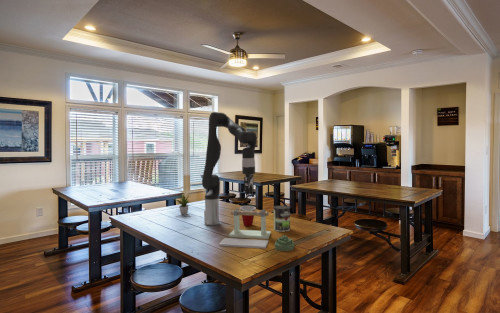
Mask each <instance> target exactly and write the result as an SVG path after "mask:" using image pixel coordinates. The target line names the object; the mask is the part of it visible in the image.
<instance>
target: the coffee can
mask: <svg viewBox="0 0 500 313" xmlns="http://www.w3.org/2000/svg"><path fill="white" fill-rule="evenodd" d="M273 230H274V231H276V232H281V233H283V232H285V231H286V232H289V231H291V206H288V205H283V204H282V205H280V204H279V205H274V206H273ZM286 232H285V233H286Z"/></svg>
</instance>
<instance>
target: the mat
mask: <svg viewBox="0 0 500 313" xmlns="http://www.w3.org/2000/svg"><path fill="white" fill-rule="evenodd" d="M268 244H269V239H253V238H235V237H224V238H223V239H222V240H221V241H220V242H219V243H218V246H219V247H231V248H233V247H234V248H247V249H248V248H249V249H251V248H252V249H265V250H266V249H267V246H268Z"/></svg>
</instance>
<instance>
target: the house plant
mask: <svg viewBox="0 0 500 313" xmlns="http://www.w3.org/2000/svg"><path fill="white" fill-rule="evenodd" d="M191 195H192V193H189V194H186V195H185V194H184V193H182V194H179V195H175V197H177V199H176V198H175V199H173V200H174V201H175V204H176V203H178V204H180V205H179V212H180V215H181V214H185V215H188V214H189V213H188V212H189V205H188V204H189V203H190V200H189V198H190V197H191ZM178 198H179V199H178ZM187 213H188V214H187Z"/></svg>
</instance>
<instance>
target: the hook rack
mask: <svg viewBox="0 0 500 313" xmlns="http://www.w3.org/2000/svg"><path fill="white" fill-rule="evenodd" d="M233 211H234V215H233V230H232V231H231V232H230V233H228V238H236V239H255V240H269V238H270V237H271V233H272V231H270V230H267V225H266V224H267V220H266V219H267V218H266V217H267V216H264V212H267V211H266V209H261V216H260V230H254V229H253V230H252V229H240V215H237V211H240V208H235V209H234V210H233Z"/></svg>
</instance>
